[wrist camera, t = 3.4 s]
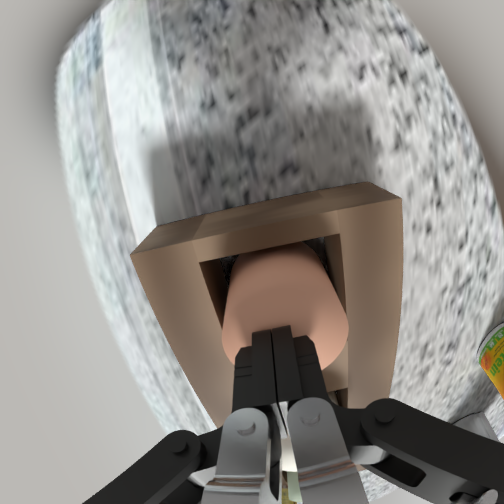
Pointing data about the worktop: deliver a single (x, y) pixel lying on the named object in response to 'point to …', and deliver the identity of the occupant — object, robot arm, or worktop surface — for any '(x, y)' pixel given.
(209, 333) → the panel
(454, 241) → the worktop surface
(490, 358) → the supplement bottle
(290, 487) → the button sage
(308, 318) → the button terracotta
